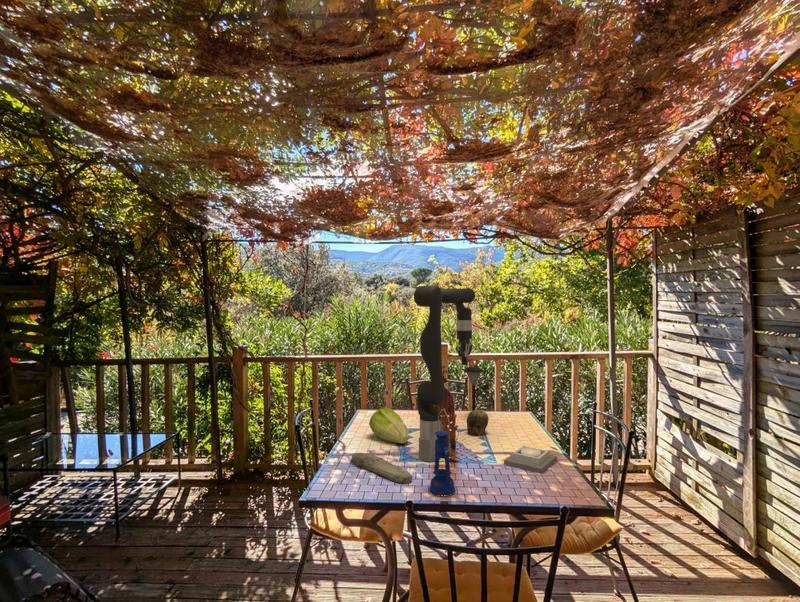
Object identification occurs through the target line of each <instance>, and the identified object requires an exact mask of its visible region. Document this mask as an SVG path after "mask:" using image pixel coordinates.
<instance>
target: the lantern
mask: <svg viewBox="0 0 800 602" xmlns="http://www.w3.org/2000/svg"><path fill="white" fill-rule="evenodd" d="M443 411H444V414H445V415H446V416H445V417H446V419H447V420H448V421H447V422H448V431H444V424H442V423H441V425H440V429H441V431H439V414H440V413H441V412H443ZM439 412H440V413H439V414H438V431H437V432H435V435H436V436H437V439H436V440H435V455H434V456H435V461H434V466H433V467H434V470H433V473H432V474H434V476H433V477H431V479H430V482H429V484H430V485H429V490H428V491H430V492H431V493H432V494H431V493H430V492H429V493H430V494H431V495H433V494H434V495H433V496H435V495H440V496H439V497H441V495H443V496H444V495H450V494H453V493H454V492H455V493H456V487H455V482H454V480H453V478H452V477H451V474H452V472H451V464H450V457H451V455H450V453H451V425H450V423H451V422H450V419H449V416H448V414H447V412H446V409H445V408H442V409H441V410H439ZM447 438H448V439H447ZM439 458H441V459H444V466H445V467H444V468H440V460H439ZM455 493H454V494H455ZM454 494H453V495H454ZM450 496H451V495H450Z"/></svg>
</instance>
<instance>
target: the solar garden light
mask: <svg viewBox="0 0 800 602" xmlns="http://www.w3.org/2000/svg"><path fill="white" fill-rule="evenodd" d="M462 372H464V373H466V375H467V378H468V380H469V382H470V384H471V402H472V403H471V411H474V410H476V385H477V382H478V380H479V377H480V376H481V374H482V373H484V372H485V370H484V369H483V368H481V367H479V366H469V367H466V368H465V369H463V370H462Z"/></svg>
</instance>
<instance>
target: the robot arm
mask: <svg viewBox="0 0 800 602" xmlns="http://www.w3.org/2000/svg"><path fill="white" fill-rule="evenodd" d="M475 299H476V292H475V290H474V289H472V288H467V287H466V288H463V287H462V288H455V287H454V288H453V287H452V288H450V287H449V288H448V287H447V288H440V287H439V286H438V285H419V286H417V287H416V289H415V290H414V293H413V300H414V302H415V304H416V305H417V306H419V307H422V308H429V311H428V312H429V313H428V320H427V322H426V324H425V326H424V327H423V330H422V331H421V334H420V338H419V344H420V345H419V347H420V349H419V351H420V355H421V358H422V360H423V363H425V365H426V368H427V370H428V373H429V379H430V381H427V380H426V381H425V380H424V381H421V382H420V384H419V385H418V386H417V391H416V399H417V401H416V402H417V411H418V415H419V438H418V460H420V461H425V462H427V463H432V462H435V456H434V455H435V440H436V439H437V436H436V435H435V432H437V431H438V414H439V413H440V410H438V409H437V408H436V407H435V406H439V405H441V404H442V403H443V401H444V399H445V393H446V391H445V383H444V382H445V380H444V374H443V360H442V357H443V355H442V353H443V352H442V350H443V349H442V347H443V346H442V344H443V343H442V306H443V304H454V306H455V309H456V339H457V340H458V342H457V343H458V346H455V350H456V353H457V354H458V356H459V357H460V358H461V365H462V366H467V365H468V357H469V356H470V354H471V352H472V350H473V346H474V345H473V344H471V341H470V340H473V323H472V322H473V321H472V309H471V308H469V307H467V306H465V304H470V303H472V302H474V301H475ZM434 405H435V406H434ZM441 424H442V414H441V413H440V414H439V431H442V428H441V429H440V425H441ZM441 426H442V425H441ZM441 459H442V458H439V461H440V460H441Z"/></svg>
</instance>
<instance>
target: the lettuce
mask: <svg viewBox="0 0 800 602" xmlns="http://www.w3.org/2000/svg"><path fill="white" fill-rule="evenodd" d="M368 424H369V427H370V430H371V431H372V433H373V434H374V435H375V436H376V437H378V438H379V439H381V440H383V441H386V442H390V443H396V444H398V443H399V444H406V443H407V442H408V441H409V432H408V431H409V430H408V428H407V425H406V423H405V422H404V420H403V419H402V418H401V416H400V415H399V414H398V413H397V412H396V411H394V409H392V408H389V407H387V406H383V407H381V408H379V409H378V410H376V411H375V412H374V413H372V415H371V417H370V419H369V423H368Z"/></svg>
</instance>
